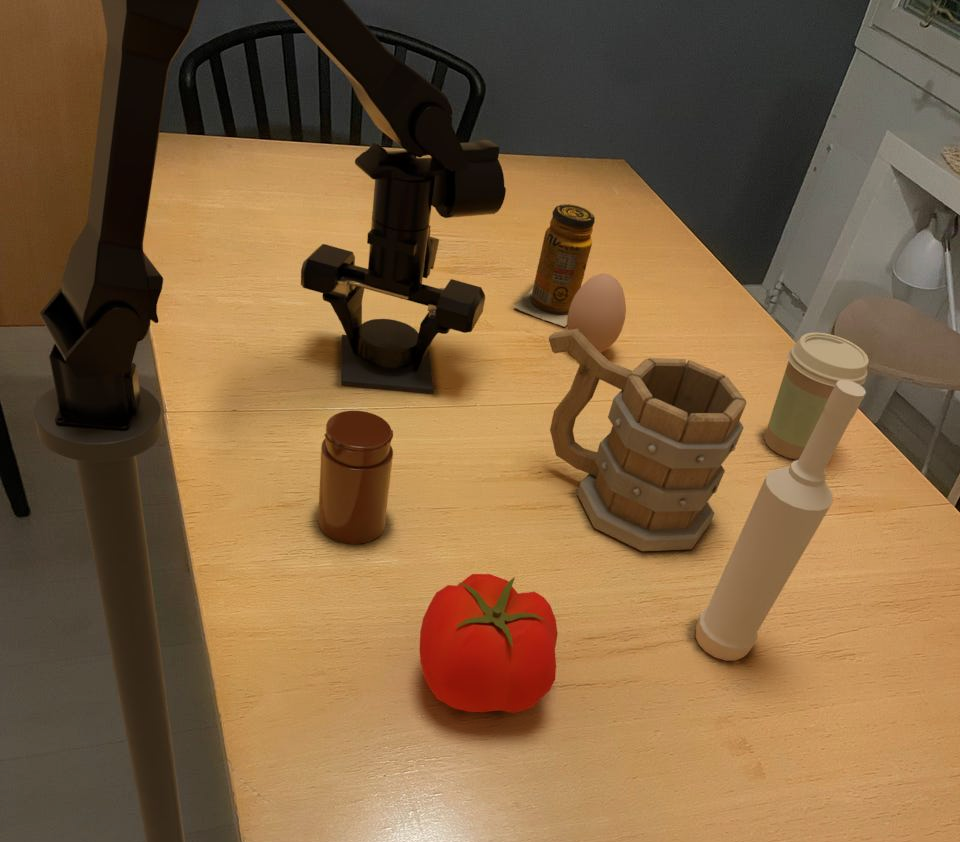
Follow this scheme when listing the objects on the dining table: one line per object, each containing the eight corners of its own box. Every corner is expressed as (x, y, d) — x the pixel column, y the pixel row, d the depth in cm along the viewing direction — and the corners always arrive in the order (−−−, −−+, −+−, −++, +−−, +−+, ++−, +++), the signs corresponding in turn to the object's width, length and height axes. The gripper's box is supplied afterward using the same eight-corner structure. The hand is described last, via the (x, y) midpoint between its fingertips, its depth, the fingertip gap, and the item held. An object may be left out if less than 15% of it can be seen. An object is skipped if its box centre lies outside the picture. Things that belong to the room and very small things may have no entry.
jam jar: (317, 542, 79) (321, 446, 72) (318, 499, 83) (323, 405, 76) (385, 546, 80) (396, 452, 73) (383, 504, 85) (394, 411, 77)
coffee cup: (824, 437, 107) (872, 343, 98) (824, 475, 101) (875, 379, 92) (754, 416, 108) (795, 321, 99) (750, 453, 102) (793, 356, 93)
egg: (586, 371, 108) (607, 293, 102) (548, 343, 112) (567, 266, 105) (624, 359, 112) (648, 283, 105) (587, 333, 115) (607, 258, 108)
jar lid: (430, 355, 102) (432, 336, 100) (392, 376, 97) (394, 357, 96) (382, 331, 104) (384, 312, 102) (343, 350, 99) (344, 331, 98)
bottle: (682, 624, 80) (799, 369, 62) (730, 616, 82) (857, 366, 64) (711, 667, 77) (843, 411, 59) (761, 657, 78) (904, 406, 61)
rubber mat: (341, 385, 97) (341, 380, 97) (341, 339, 104) (341, 334, 104) (433, 394, 99) (434, 389, 99) (427, 347, 106) (428, 343, 106)
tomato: (384, 675, 70) (395, 594, 64) (483, 617, 76) (502, 538, 70) (478, 764, 66) (500, 686, 59) (576, 695, 72) (604, 618, 66)
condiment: (585, 304, 121) (609, 212, 113) (564, 328, 115) (588, 233, 107) (535, 286, 122) (555, 194, 114) (512, 309, 116) (531, 214, 108)
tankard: (721, 507, 93) (779, 378, 83) (677, 570, 85) (735, 435, 74) (552, 429, 98) (586, 297, 88) (495, 481, 90) (525, 342, 79)
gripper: (508, 216, 95) (483, 351, 106) (340, 170, 96) (333, 309, 107) (483, 255, 88) (459, 396, 99) (300, 205, 89) (297, 351, 100)
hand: (386, 361), depth 101 cm, fingers closed on jar lid, 7 cm apart
